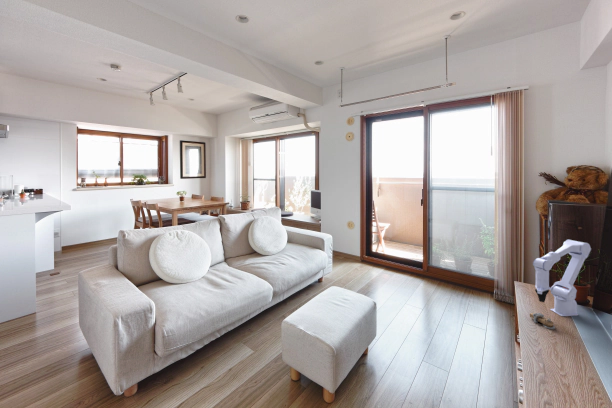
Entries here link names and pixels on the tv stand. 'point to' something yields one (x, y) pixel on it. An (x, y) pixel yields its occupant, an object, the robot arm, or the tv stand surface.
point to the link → (544, 320)
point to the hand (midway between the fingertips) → (541, 301)
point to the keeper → (537, 316)
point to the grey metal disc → (549, 327)
